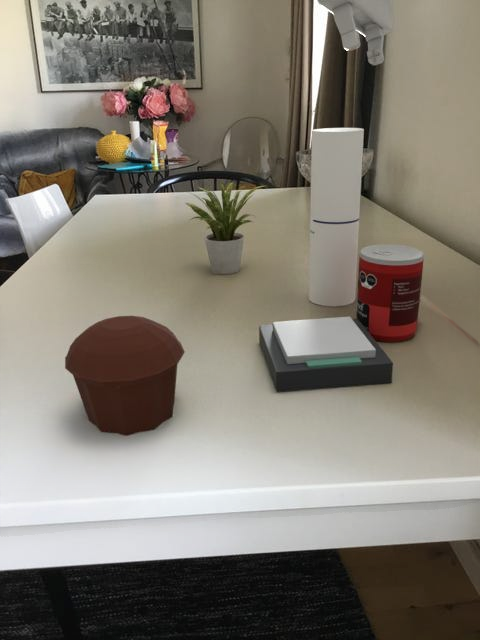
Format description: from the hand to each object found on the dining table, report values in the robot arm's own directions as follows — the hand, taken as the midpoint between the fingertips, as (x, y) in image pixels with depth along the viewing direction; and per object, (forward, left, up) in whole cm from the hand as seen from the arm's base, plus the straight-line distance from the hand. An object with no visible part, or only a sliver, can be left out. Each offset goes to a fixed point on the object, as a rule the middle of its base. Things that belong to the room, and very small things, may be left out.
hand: (365, 56), depth 74 cm
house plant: (+17, -20, -34) cm, 43 cm away
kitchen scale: (+10, +20, -34) cm, 41 cm away
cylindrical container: (+3, -1, -34) cm, 34 cm away
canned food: (-1, +12, -34) cm, 36 cm away
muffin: (+32, +28, -34) cm, 54 cm away
